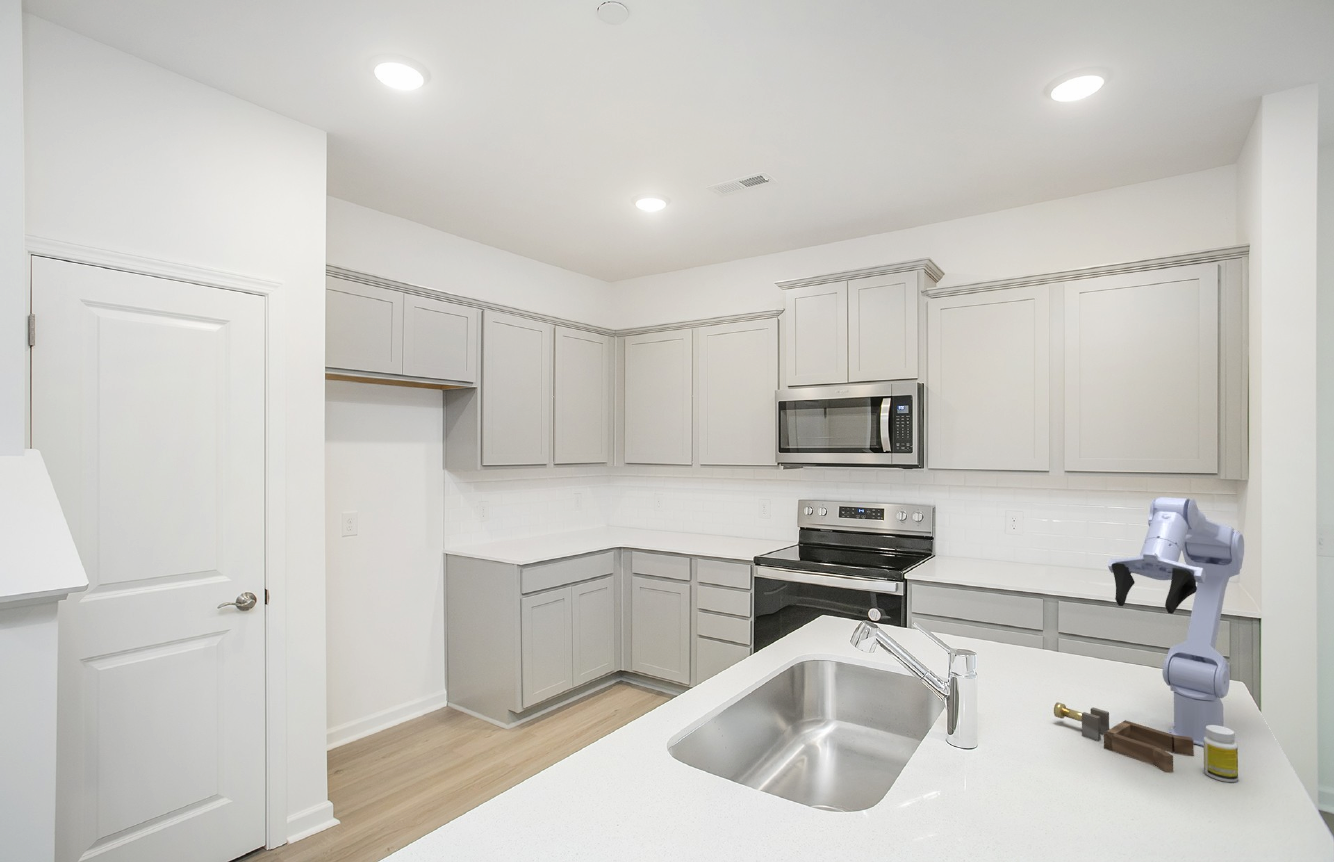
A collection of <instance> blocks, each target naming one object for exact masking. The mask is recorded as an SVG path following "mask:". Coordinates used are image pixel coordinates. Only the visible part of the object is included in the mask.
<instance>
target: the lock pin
mask: <svg viewBox="0 0 1334 862" xmlns="http://www.w3.org/2000/svg"><path fill="white" fill-rule="evenodd" d="M1082 713H1083V712H1081V711H1078V710H1074V709H1071V708H1068V707H1067V705H1066V704H1065V703H1061V702H1056V703H1055V704H1054V706H1053V714H1054V717H1056V718H1059V719H1064V718H1068V719H1071V720H1074V721H1078V722H1081V723H1082Z"/></svg>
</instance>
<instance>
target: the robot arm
mask: <svg viewBox="0 0 1334 862" xmlns="http://www.w3.org/2000/svg"><path fill="white" fill-rule="evenodd" d="M1147 519H1148V520H1147V524H1148V526H1149V527H1148V530H1147V531H1146V532H1147V533H1146V535H1145V538H1144V542H1143V545H1142V548H1141V551H1140V552H1139V555H1138V556H1133V557H1125V558H1124V557H1122V558H1110V560H1109V562H1108V564H1107V567H1108V569H1109V571H1110V573H1111V574H1113V577H1114V581H1115V597H1114V599H1115V601H1116V603H1117V606H1118V607H1123V606H1124V605H1125V603H1126V600H1127V597H1128V594H1129V592H1130V590H1131V588H1132V587H1133V586H1134V585H1135V583H1136V581H1135V579H1134V577H1133V575H1132V574H1135V575H1140V576H1142V577H1146V578H1149V579H1153V580H1157V581H1170V586H1169V591H1168V594H1167V597H1166V598H1165V604H1164V607H1165V609H1166V611H1167V614H1171V615H1172V614H1174V612H1175V611H1176V610H1177V608H1178V607H1179V606H1180V605H1181V604H1182V602H1183V601H1184V600H1186V599H1187V598H1189V597H1190V596H1192V595H1194V598H1193V603H1192V608H1191V615H1190V620H1189V624H1188V629H1187V632H1186V633H1187V634H1186V638H1185V639H1186V640H1185V641H1182V642H1180V643H1177V644H1175V645H1172V646H1171V647H1169V649H1168V651H1167V652H1168V653H1167V655H1166V657H1165V659H1164V661H1163V663H1162V664H1163V665H1162V679H1163V681H1164V683H1166V686H1168V687H1170V691H1172V692H1173V726H1174V727H1173V728H1171V729H1170V730H1168V731H1167V732H1166V733H1169V734H1173V735H1179V736H1186V737H1191V738H1192V739H1193V743H1194V745H1198V746H1200V747H1204V742H1203V740H1204V737H1205V736H1207V735H1206V726H1208V725H1217V726H1222V727H1225V725H1224V704H1223V702H1222V699H1224V698H1225V697H1226V696H1227V695H1228V693H1229V688H1230V670H1231V668H1230V664H1229V663H1228V661H1227V659H1226V657H1225V656H1223V655H1222V654H1221V653H1219V652H1218V651H1217V650H1216V643H1217V639H1218V638H1217V637H1218V632H1219V626H1220V623H1221V616H1222V611H1223V605H1224V599H1225V595H1226V594H1225V593H1226V590H1227V586H1228V583H1229V580H1230V578H1233V577H1234V576H1237V575H1240V571H1241V570H1242V567H1243V561H1244V556H1245V555H1244V554H1245V539H1244V536H1243V534H1242V533H1241V532H1240V531H1238V530H1235V528H1233V527H1232V526H1228V525H1227V524H1226V525H1225V524H1222V523H1218V522H1215V521H1212V520H1209V519H1208V518H1207V517H1206V515H1205V514H1204V512H1203V511H1202V510H1200V509H1199V507H1198V505H1197V502H1196V500H1195V498H1191V499H1190V498H1183V497H1169V496H1168V497H1164V496H1163V497H1162V496H1158V497H1157V498H1155V499H1153V500H1151V501H1150V506H1149V517H1148V518H1147ZM1181 553H1182V556H1183V559H1184V562H1185V563H1182V562H1179V559H1180V557H1181Z"/></svg>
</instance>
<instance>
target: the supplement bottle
mask: <svg viewBox="0 0 1334 862" xmlns="http://www.w3.org/2000/svg"><path fill="white" fill-rule="evenodd" d="M1206 735H1207V736H1205V737H1204V740H1203V742H1204V746H1203V772H1204V774H1205V775H1207V776H1208V777H1210V778H1212V779H1214V780H1217V781H1221V782H1225V783H1236V782H1237V781H1238V780H1239V763H1238V762H1239V761H1238V760H1239V759H1238V757H1239V755H1238V754H1239V753H1238V744H1237V743H1236V742H1235V740H1236V737H1235V731H1234V730H1233V729H1231V728H1228V727H1226V726H1224V727H1222V726H1217V725H1208V726H1206Z"/></svg>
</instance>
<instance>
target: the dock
mask: <svg viewBox="0 0 1334 862" xmlns="http://www.w3.org/2000/svg"><path fill="white" fill-rule="evenodd" d="M1081 713H1082V722H1081V736H1082V737H1084V738H1087V739H1090V740H1093V741H1097V742H1099V741H1100V740H1101V739H1102V738H1101V737H1102V736H1103V749H1105V750H1108V751H1111V752H1114V753H1116V754H1120V755H1123V756H1125V757H1128V758H1132V759H1134V760H1137V761H1140V762H1143V763H1145V764H1146V763H1147V764H1149V765H1151V766H1152V765H1153V766H1154V767H1156V768H1157V769H1159V770H1161V771H1162V772H1164V773H1174V755H1173V754H1171V753H1174V754H1177V755H1183V756H1190V757H1195V756H1194V755H1195V754H1194V753H1195V752H1194V750H1195V749H1194V745H1195V744H1194V743H1193V739H1192V738H1191V737H1186V736H1179V735H1173V734H1169V733H1167V732H1165V731H1162V730H1159V729H1155V728H1152V727H1149V726H1145V725H1142V724H1139V723H1135V722H1132V721H1129V720H1126V719H1125V720H1123V721H1121V722H1120V723H1117V725H1115V726H1113V727H1111V728H1110V712H1109V711H1106V710H1103V709H1100V708H1098V707H1097V708H1096V707H1091V708H1090V713H1089V712H1086V711H1084V712H1081ZM1169 752H1170V753H1169Z"/></svg>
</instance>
